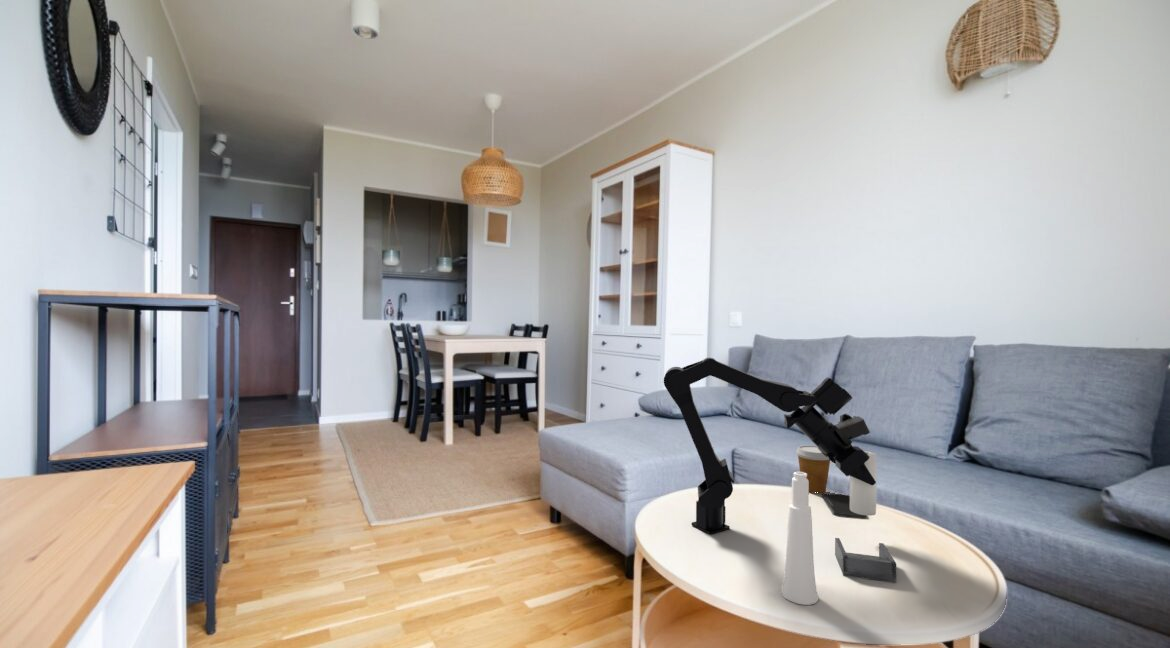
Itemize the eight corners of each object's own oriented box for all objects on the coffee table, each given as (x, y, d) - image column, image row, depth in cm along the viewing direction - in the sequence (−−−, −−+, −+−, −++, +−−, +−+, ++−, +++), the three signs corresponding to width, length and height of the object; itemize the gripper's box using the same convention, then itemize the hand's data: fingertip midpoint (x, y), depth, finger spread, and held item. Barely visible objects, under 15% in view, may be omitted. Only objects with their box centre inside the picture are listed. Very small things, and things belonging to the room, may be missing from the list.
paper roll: (867, 517, 110) (867, 456, 110) (844, 509, 115) (845, 450, 115) (880, 512, 113) (881, 453, 113) (858, 505, 117) (858, 448, 117)
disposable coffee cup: (833, 488, 148) (834, 447, 148) (829, 498, 140) (830, 454, 140) (799, 482, 153) (799, 443, 153) (793, 491, 145) (793, 450, 145)
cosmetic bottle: (774, 591, 92) (774, 470, 92) (798, 584, 94) (799, 466, 94) (800, 608, 86) (801, 480, 86) (825, 600, 89) (826, 475, 89)
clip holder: (896, 582, 95) (896, 563, 95) (843, 575, 98) (843, 556, 98) (883, 560, 104) (883, 543, 104) (834, 554, 106) (835, 537, 106)
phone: (851, 495, 140) (867, 515, 126) (851, 499, 140) (867, 520, 126) (820, 493, 142) (833, 512, 128) (820, 497, 142) (833, 517, 128)
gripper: (858, 412, 105) (917, 468, 103) (832, 398, 123) (881, 445, 122) (818, 447, 107) (874, 503, 105) (798, 429, 125) (845, 476, 123)
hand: (869, 480), depth 113 cm, fingers closed on paper roll, 5 cm apart
